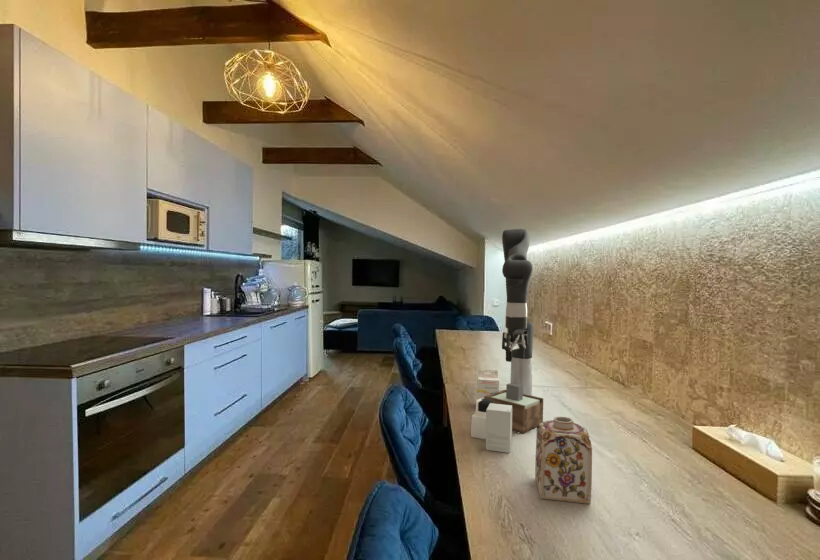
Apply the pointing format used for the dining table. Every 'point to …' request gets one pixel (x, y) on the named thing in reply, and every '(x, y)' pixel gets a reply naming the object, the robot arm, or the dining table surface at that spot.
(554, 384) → the dining table surface
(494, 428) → the supplement box
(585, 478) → the decorative jar
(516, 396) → the lid
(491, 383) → the ink cartridge box
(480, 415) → the medicine bottle
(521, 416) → the box
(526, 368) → the robot arm
